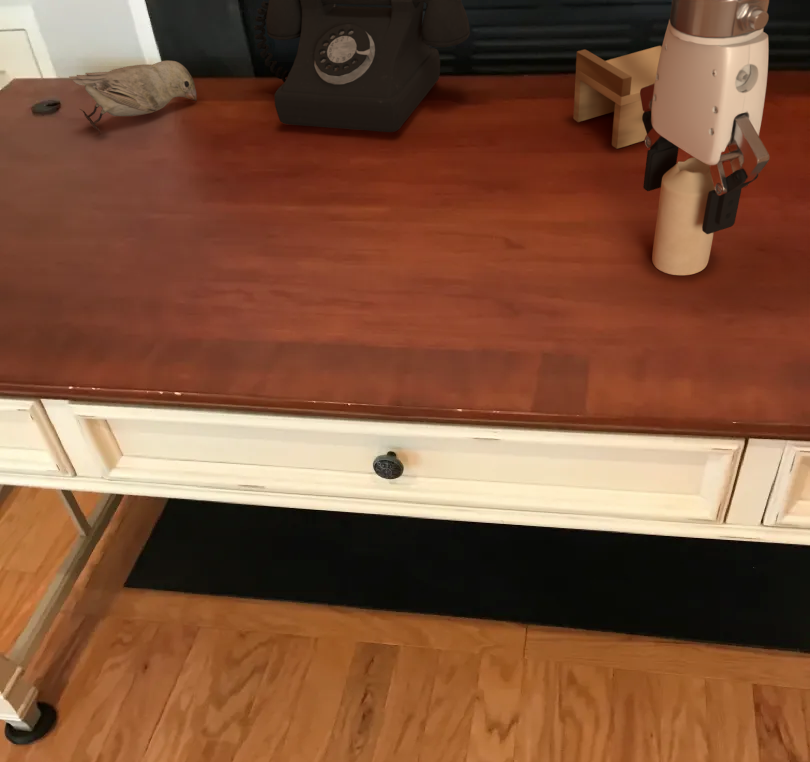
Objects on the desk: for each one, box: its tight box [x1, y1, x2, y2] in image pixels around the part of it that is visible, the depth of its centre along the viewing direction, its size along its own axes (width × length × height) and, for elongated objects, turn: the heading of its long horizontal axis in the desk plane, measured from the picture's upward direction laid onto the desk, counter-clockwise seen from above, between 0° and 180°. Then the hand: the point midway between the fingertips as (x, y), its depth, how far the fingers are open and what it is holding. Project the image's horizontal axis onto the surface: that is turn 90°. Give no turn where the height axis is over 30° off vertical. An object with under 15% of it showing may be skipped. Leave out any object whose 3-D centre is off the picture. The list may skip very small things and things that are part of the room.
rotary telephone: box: [253, 0, 471, 133], centre depth 116 cm, size 30×17×15 cm, turn 70°
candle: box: [651, 157, 715, 276], centre depth 87 cm, size 6×6×10 cm
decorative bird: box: [68, 60, 198, 134], centre depth 123 cm, size 5×16×7 cm, turn 118°
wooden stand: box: [572, 45, 662, 149], centre depth 109 cm, size 12×10×8 cm
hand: (686, 206), depth 86 cm, fingers open, 9 cm apart
